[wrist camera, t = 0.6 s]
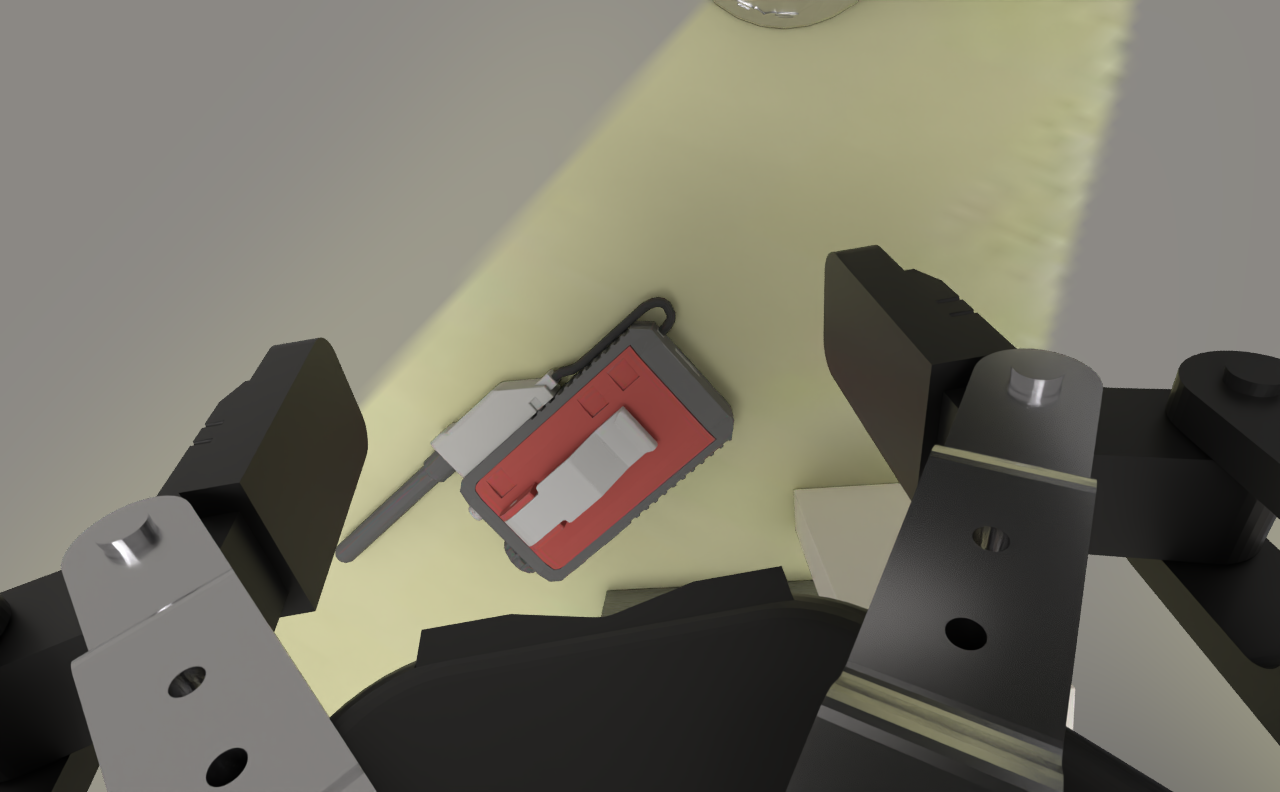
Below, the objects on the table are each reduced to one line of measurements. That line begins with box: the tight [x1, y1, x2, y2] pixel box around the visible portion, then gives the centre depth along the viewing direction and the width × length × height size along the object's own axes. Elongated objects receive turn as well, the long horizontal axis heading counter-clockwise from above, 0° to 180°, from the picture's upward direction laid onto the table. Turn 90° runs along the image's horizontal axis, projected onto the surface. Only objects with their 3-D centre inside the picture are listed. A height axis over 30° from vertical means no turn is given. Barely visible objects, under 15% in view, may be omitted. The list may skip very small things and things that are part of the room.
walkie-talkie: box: [335, 297, 734, 582], centre depth 32 cm, size 9×4×20 cm
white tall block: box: [794, 483, 1075, 730], centre depth 26 cm, size 5×2×15 cm, turn 95°
